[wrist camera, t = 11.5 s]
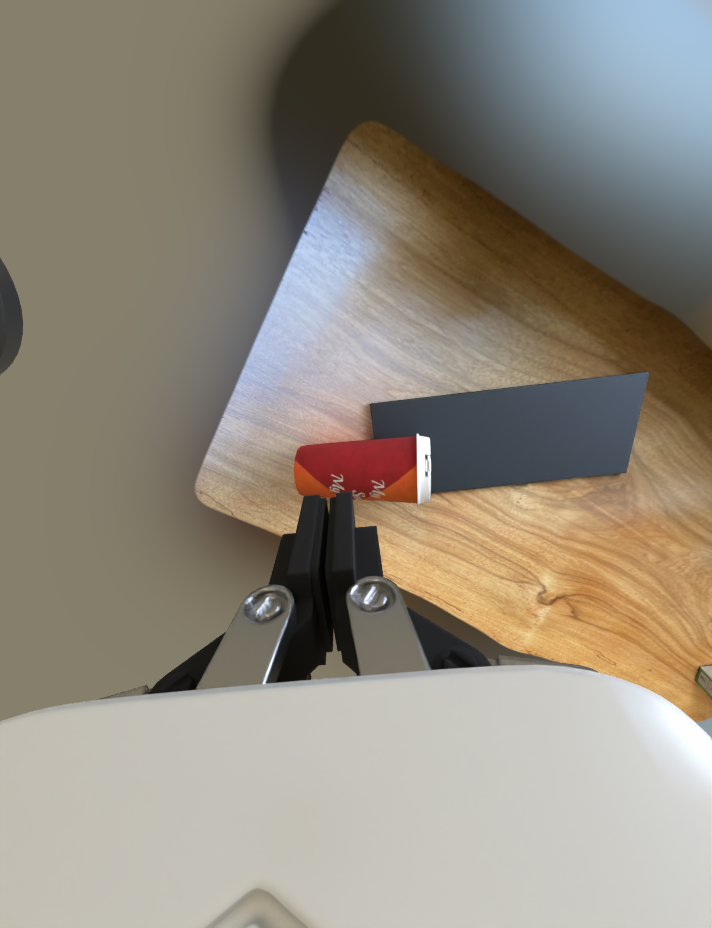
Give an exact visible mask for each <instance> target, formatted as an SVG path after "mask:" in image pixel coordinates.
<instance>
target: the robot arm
mask: <svg viewBox="0 0 712 928" xmlns="http://www.w3.org/2000/svg"><path fill="white" fill-rule="evenodd" d="M333 629H334V633H335V639H336V644H337V650H338V651H341V653H342V660H343V662H344V663H345V664H346V665H347V666H348V667H349V668H351V669H352V670H353V671H354V672H355V673H356V674H357V676H353V677H352V676H351V677H340V678H328V679H316V680H311V674H310V673H311V672H312V671H313V670H314V669H315V668H316V667H317V666H318V665H325V664H326V652H332V650H333ZM0 928H712V738H711V737H710V736H709V735H708V734H707V733H706V732H705V731H704V730H703V729H702V728H701V727H699V726H698V725H697V724H696V723H695V722H694V721H693V720H692V719H691V718H690V717H688V716H687V715H686V714H685V713H684V712H682V711H681V710H680V709H679V708H677V707H676V706H675V705H673V704H672V703H670V702H669V701H668V700H666V699H665V698H663V697H661V696H659V695H658V694H656V693H654V692H652V691H650V690H648V689H646V688H643V687H641V686H639V685H636V684H634V683H631V682H628V681H626V680H623V679H620V678H617V677H613V676H609V675H605V674H601V673H599V672H597V671H595V670H593V669H591V668H588V667H584V666H580V665H573V664H566V663H558V662H550V661H542V660H533V659H526V658H519V657H511V656H503V655H498V660H497V659H489V658H486V657H485V656H484V655H483V654H482V653H481V652H479V651H478V650H477V649H476V648H474V647H472V646H471V645H469V644H467V643H466V642H464V641H462V640H461V639H459V638H457V637H456V636H454V635H452V634H451V633H449V632H447V631H446V630H444V629H443V628H441V627H439V626H437V625H436V624H434V623H433V622H431V621H429V620H428V619H426V618H424V617H423V616H421V615H419V614H418V613H416V612H414V611H413V610H411V609H410V608H408V607H406V605H405V603H404V600H403V598H402V595H401V593H400V590H399V588H398V587H397V585H396V584H395V583H394V582H392V581H391V580H390V579H387V578H385V577H383V571H382V564H381V556H380V549H379V541H378V534H377V527H376V526H369V527H358V528H356V526H355V517H354V508H353V499H352V492H340V493H336V497H331V498H330V510H329V512H328V506H327V500H326V498H321V497H320V494H319V495H308V496H304V498H303V502H302V507H301V511H300V516H299V521H298V525H297V530H296V533H292V534H284V535H283V536H282V538H281V542H280V546H279V549H278V553H277V557H276V560H275V564H274V568H273V571H272V575H271V579H270V582H269V585H267V586H264V587H261V588H259V589H257V590H255V591H253V592H252V593H250V594H249V595H248V596H247V597H246V598H245V599H244V601H243V602H242V603H241V605H240V607H239V608H238V611H237V612H236V614H235V616H234V618H233V620H232V622H231V624H230V626H229V627H228V629H227V631H226V632H225V633H224V634H222V635H221V636H219V637H218V638H217V639H215V640H214V641H213V642H211V643H210V644H208V645H207V646H205V647H204V648H203V649H201V650H200V651H199V652H197V653H196V654H195V655H193V656H192V657H190V658H189V659H188V660H186V661H185V662H183V663H182V664H181V665H179V666H178V667H176V668H175V669H174V670H172V671H171V672H169V673H168V674H167V675H165V676H164V677H163V678H162V679H161V680H160V681H158V682H157V683H156V684H155V686H154V687H153V688H152V689H149V688H148V687H147V685H145V686H141V687H138V688H134V689H131V690H128V691H124V692H121V693H118V694H115V695H111V696H108V697H104V698H101V699H97V700H92V701H85V702H79V703H72V704H65V705H59V706H54V707H50V708H45V709H41V710H36V711H32V712H29V713H25V714H22V715H19V716H15V717H12V718H9V719H6V720H3V721H0Z"/></svg>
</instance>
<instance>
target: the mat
mask: <svg viewBox="0 0 712 928" xmlns="http://www.w3.org/2000/svg"><path fill="white" fill-rule="evenodd" d="M648 375H649V373H647V372H641V373H632V374H623V375H615V376H606V377H597V378H589V379H580V380H571V381H563V382H554V383H545V384H537V385H528V386H519V387H511V388H502V389H493V390H484V391H476V392H467V393H458V394H450V395H441V396H432V397H424V398H415V399H406V400H398V401H389V402H380V403H372V404H370V406H371V416H372V426H373V436H374V439H387V438H400V437H412V436H417V434H419V436H424V437H429V438H430V452H431V455H430V460H431V493H439V492H448V491H458V490H467V489H476V488H486V487H495V486H505V485H514V484H524V483H533V482H543V481H552V480H561V479H571V478H580V477H590V476H599V475H609V474H618V473H626V471H627V467H628V463H629V458H630V454H631V450H632V445H633V441H634V437H635V432H636V428H637V423H638V419H639V415H640V410H641V406H642V402H643V397H644V393H645V389H646V384H647V380H648Z"/></svg>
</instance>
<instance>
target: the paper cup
mask: <svg viewBox="0 0 712 928" xmlns="http://www.w3.org/2000/svg"><path fill="white" fill-rule="evenodd" d="M430 455H431V452H430V438H429V437H424V436H419V434H417V436H412V437H400V438H387V439H374V440H361V441H349V442H336V443H325V444H314V445H305V446H300V447H299V448H298V450H297V453H296V456H295V463H294V478H295V484H296V488H297V490H298V492H299V494H301V495H305V496H308V495H319V494H320V497H329V498H331V497H336V493H340V492H352V499H359V500H375V501H391V502H407V503H417V506H419V505H420V503H426V502H429V501H430V499H431V460H430Z"/></svg>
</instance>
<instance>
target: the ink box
mask: <svg viewBox="0 0 712 928" xmlns="http://www.w3.org/2000/svg"><path fill="white" fill-rule="evenodd" d="M695 681H696V682H697V683H698V685H699V686H700V687H701V688H702V689H703V690H704V691H705V692H706V693H707V695H708V696H709V697H710V698H711V699H712V666H704V667H700V669H699V672H698V674H697V676H696V679H695Z"/></svg>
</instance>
